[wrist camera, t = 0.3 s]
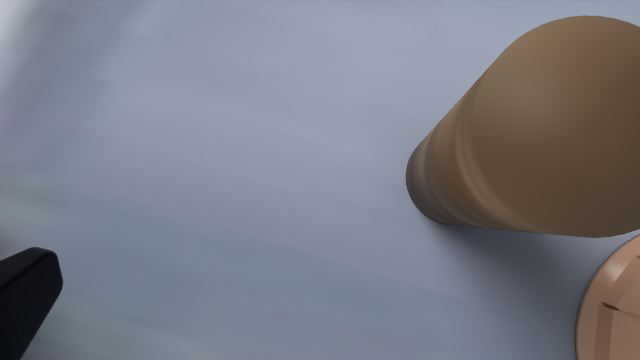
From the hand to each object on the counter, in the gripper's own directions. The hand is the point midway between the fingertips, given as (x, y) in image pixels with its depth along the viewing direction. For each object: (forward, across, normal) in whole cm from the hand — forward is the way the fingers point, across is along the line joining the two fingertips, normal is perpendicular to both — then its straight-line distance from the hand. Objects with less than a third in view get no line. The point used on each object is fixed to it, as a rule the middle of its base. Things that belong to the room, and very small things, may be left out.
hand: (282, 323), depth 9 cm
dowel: (+14, -5, +4) cm, 15 cm away
